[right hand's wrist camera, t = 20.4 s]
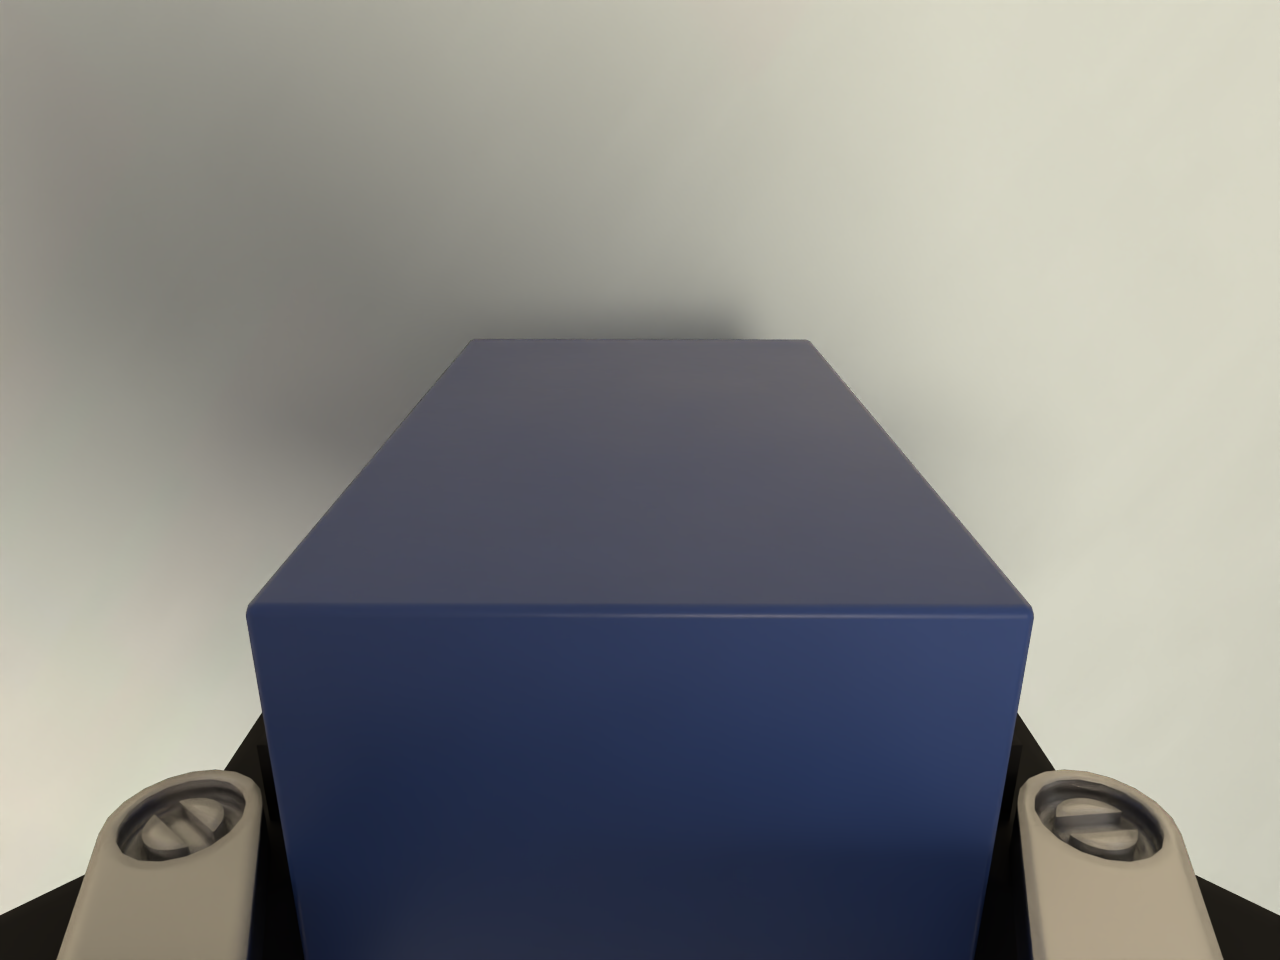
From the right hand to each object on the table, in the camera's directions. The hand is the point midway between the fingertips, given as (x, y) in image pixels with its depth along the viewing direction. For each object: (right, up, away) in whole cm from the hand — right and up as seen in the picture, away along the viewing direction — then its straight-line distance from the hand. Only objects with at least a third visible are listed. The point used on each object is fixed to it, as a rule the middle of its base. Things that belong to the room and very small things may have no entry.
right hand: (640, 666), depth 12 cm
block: (0, +1, +3) cm, 4 cm away
